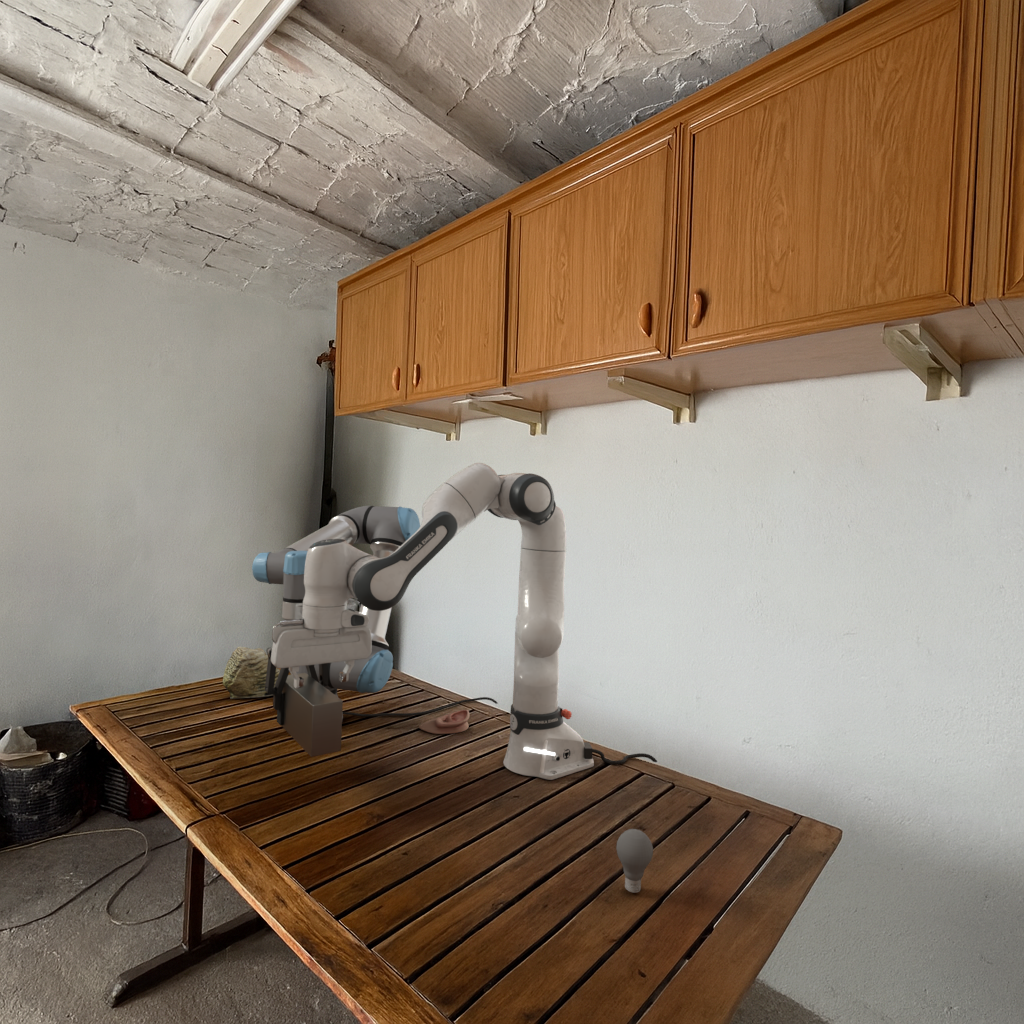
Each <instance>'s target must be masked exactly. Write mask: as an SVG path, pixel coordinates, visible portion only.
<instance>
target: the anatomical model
mask: <svg viewBox="0 0 1024 1024" xmlns="http://www.w3.org/2000/svg"><path fill="white" fill-rule="evenodd" d="M470 715H471V714H470V711H469V710H468V709H461V710H457V711H454V712H450V713H447V714H445V715H442V716H439V717H437V718H436V717H435V718H432V719H429V720H427V721H424V722H422V723H421V724H420V725H419V726H418V728H419V730H421V731H423V732H427V733H430V734H434V735H445V734H447V735H448V734H455V733H456V734H457V733H462V732H465V731H467V730H468V729H469V726H470V724H469V722H468V721H469V720H470V717H471V716H470Z"/></svg>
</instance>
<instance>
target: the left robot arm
mask: <svg viewBox="0 0 1024 1024" xmlns="http://www.w3.org/2000/svg"><path fill="white" fill-rule="evenodd" d="M420 526H421V522H420V518H419V515H418V513H417V512H416V510H414V509H413V508H411V507H402V506H385V505H384V506H383V505H381V506H380V505H362V506H357V507H354V508H351V509H348V510H346V511H343V512H341V513H340V514H337V515H336V516H334V517H332V518H331V519H330V520H329V521H328V524H327V525H325V526H323V527H321V528H319V529H317V530H316V531H314V532H312V533H309V534H308V535H307V536H305V537H304V536H303V538H301V539H299V540H297V541H295V542H294V543H291V544H289V545H288V546H286V547H284V548H282V549H280V550H278V551H276V552H272V551H268V552H260V553H258V554H256V556H255V558H254V559H253V562H252V565H251V570H252V576H253V578H254V580H256V581H257V582H259V583H263V584H264V583H265V584H269V585H282V586H283V593H282V594H283V595H282V612H281V618H282V619H283V620H287V621H290V620H297V619H302V609H303V599H304V596H305V586H304V569H305V561H306V555H307V552H308V549H309V547H310V546H311V545H312V544H314V543H316V542H319V541H322V540H328V539H343V540H345V541H346V542H347V543H349V544H350V545H352V546H353V545H357V544H359V545H360V544H362V545H363V544H364V545H369V548H370V549H371V551H372V553H373V554H372V555H373V556H376V557H379V558H384V557H387V556H389V555H391V554H392V553H394V552H395V551H396V550H397V549H398V548H399V547H400V546H401V545H402V544H403V543H404V542H406V541H407V540H408V539H409V538H410V537H411V536H412V535H413V534H414V533H415V532H416V531H417V530H418V529H419V528H420ZM392 608H393V607H391V608H389V609H387V610H382V611H375V610H370V609H368V608H366V607H364V606H363V605H362V604H361V603H360V608H359V611H358V612H361V613H363V614H365V615H367V616H368V617H369V623H368V625H367V627H368V628H369V629H370V632H371V640H372V651H371V654H370V656H369V657H368V658H367V659H359V660H355V662H354V666H353V668H352V670H351V671H350V673H349V679H348V681H347V682H341V681H339V672H343V670H344V668H345V666H346V664H345V663H344V661H341V662H332V663H324V664H315V665H306V666H299V671H298V672H296V673H297V674H300V673H306V674H308V675H309V676H310V677H311V678H313V679H314V680H316V681H317V682H318V683H320V684H321V685H322V686H324V687H325V688H326V689H328V690H329V691H330V692H332V693H333V694H334V695H336V696H337V697H338V698H339V695H338V690H342V691H351V692H358V693H361V694H364V693H369V694H374V693H375V694H376V693H378V692H380V691H381V690H382V689H383V688H384V687H385V685H386V684H387V683H388V681H389V679H390V677H391V675H392V671H393V668H394V667H393V666H394V662H393V661H394V657H393V653H392V652H391V651H390V650H389V648H390V646H389V643H388V642H387V640H386V636H387V635H386V634H387V631H388V625H389V621H390V617H391V613H392ZM271 653H272V647H267V648H266V654H267V655H268V665H267V674H266V683H265V691H266V692H267V693H268V694H272V697H273V699H272V707H273V709H274V710H275V711H276V723H277V724H278V725H279V726H281V725H284V705H285V696H284V695H283V694H282V691H283V688H284V685H285V682H286V680H287V677H288V675H290V671H289V668H279V670H280V672H279V675H278V678H277V681H276V683H275V686H274V682H275V673H276V668H277V667H275V666H274V665H273V664H272V662H271ZM481 700H482V701H483V700H487V701H490V702H493V703H494V704H496V705H497V704H499V703H498V702H497V700H495V699H494V698H492V697H487V696H482V697H474V698H469V699H462V700H459V701H458V700H457V701H455V702H452V703H449V704H446V705H443V706H440V707H437V708H433V709H428V710H425V711H418V712H405V713H404V712H403V713H402V712H401V713H400V712H399V713H398V712H386V713H385V712H384V713H382V712H381V713H357V712H350V711H342V723H343V722H344V715H345V716H355V717H360V718H364V717H365V718H373V717H391V716H392V717H412V716H420V715H426V714H430V713H435V712H439V711H442V710H444V709H447V708H451V707H453V706H456V705H459V704H462V703H470V702H476V701H481Z"/></svg>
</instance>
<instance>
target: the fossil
mask: <svg viewBox="0 0 1024 1024" xmlns="http://www.w3.org/2000/svg"><path fill="white" fill-rule="evenodd" d="M267 665H268V655H267V652H265V650H264V649H263V648H260V647H258V648H251V647H247V646H246V647H245V646H238V647H237V648H236V649H235V650H233V651H232V653H231V656H230V657H229V659H228V660H227V663H226V666H225V668H224V671H223V675H222V676H223V677H222V685H223V687H224V688H225V690H226V691H228V693H229V698H230V699H250V698H264V697H271V696H272V697H273V695H272V694H268V693H267V692H266V691H265V683H266V674H267ZM279 672H280V668H277V667H276V673H275V682H274V686H275V683H276V681H277V678H278V675H279Z"/></svg>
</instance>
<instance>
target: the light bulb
mask: <svg viewBox="0 0 1024 1024" xmlns="http://www.w3.org/2000/svg"><path fill="white" fill-rule="evenodd" d="M615 849H616V854H617V857H618V859H619V861H620V863H621V865H622V867H623V873H624V874H623V875H624V876H625V878H624V888H625V890H627V891H628V892H630V893H634V894H635V893H639V892H640V891H641V889H642V887H641V886H642V879H643V877H644V875H645V871H646V868H647V867H648V866H649V864H650V863H651V861H652V859H653V855H654V847H653V843H652V841H651V838H649V836H648V835H647V834H646V833H645V832H643V831H642V830H641V829H636V828H629V829H627V830H625V831H623V832H622V833H621V834H620V835H619V837H618V839H617V841H616V847H615Z"/></svg>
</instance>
